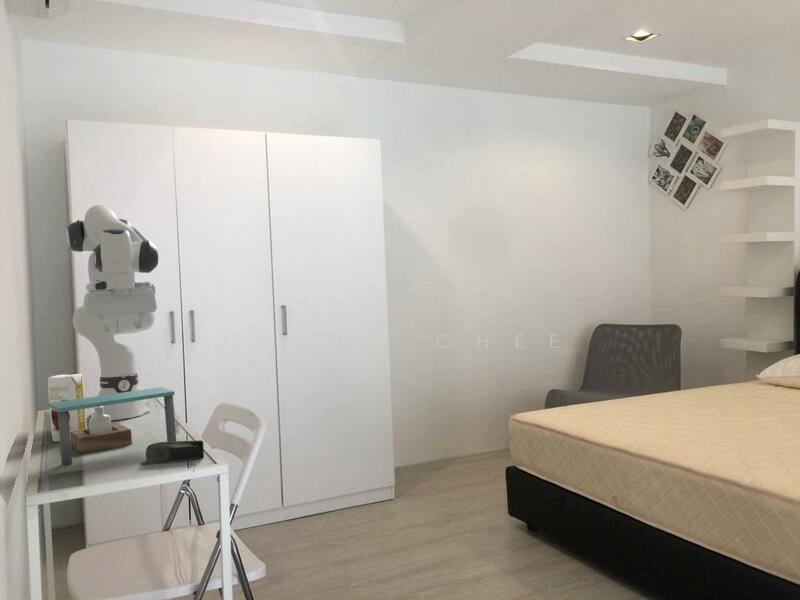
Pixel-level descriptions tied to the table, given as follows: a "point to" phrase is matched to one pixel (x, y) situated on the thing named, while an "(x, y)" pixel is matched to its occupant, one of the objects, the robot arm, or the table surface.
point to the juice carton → (66, 390)
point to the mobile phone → (174, 451)
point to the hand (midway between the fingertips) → (122, 330)
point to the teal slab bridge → (110, 399)
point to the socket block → (101, 439)
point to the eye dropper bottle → (100, 422)
